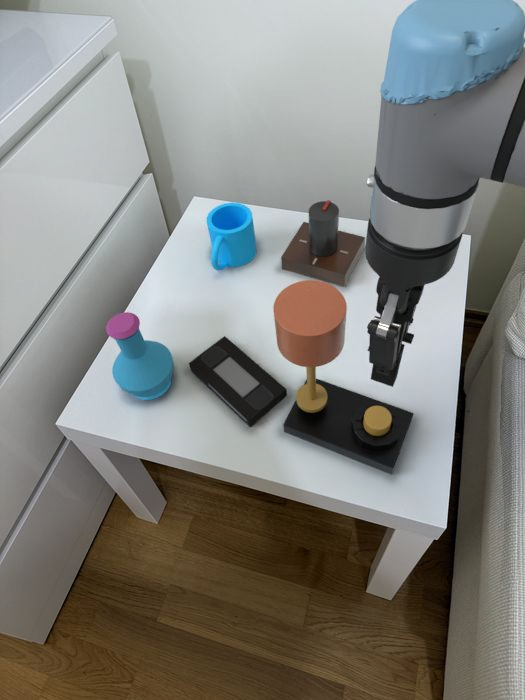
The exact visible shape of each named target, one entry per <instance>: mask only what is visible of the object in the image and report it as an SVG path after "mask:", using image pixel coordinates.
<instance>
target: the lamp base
mask: <svg viewBox="0 0 525 700" xmlns="http://www.w3.org/2000/svg"><path fill="white" fill-rule="evenodd" d="M304 384H307V378H306V379H305V381H304V383H303V385H304ZM316 384H319V385H321V386H322V387H323V388H324V389H325V390H326V392H327V395H328V399H327V404H326V406H325V407H324V408H323V409H322V410H320V411H318V412H314V413H310V412H306V411H303V410H302V409H301V408H300V407H299V406H298V404H297V402H296V400H295V402H294V403H293V405H292V407H291V408H290V411H289V412H288V414H287V416H286V418H285V421H284V423H283V424H282V426H283V427H282V428H283V432H284V433H286V434H289V435H291V436H294V437H296V438H299V439H301V440H303V441H306V442H308V443H311V444H314V445H316V446H319V447H321V448H324V449H326V450H329V451H331V452H333V453H336V454H339V455H340V456H343V457H347V458H348V459H351V460H354V461H356V462H358V463H361V464H363V465H366V466H369V467H371V468H374V469H376V470H378V471H381V472H384V473H387V474H389V475H391V476H392V475H393V474H394V471H395V469H396V468H395V467H396V465H397V462H398V459H399V456H400V454H401V451H402V448H403V445H404V443H405V440H406V437H407V435H408V432H409V429H410V426H411V424H412V421H413V417H414V414H415V413H414V412H412V411H409V410H406V409H403V408H402V407H401V408H400V407H397V406H395V405H392V404H389V403H386V402H384V401H381V400H378V399H375V398H373V397H369V396H367V395H364V394H361V393H359V392H356V391H353V390H349V389H347V388H344V387H341V386H339V385H336V384H333V383H330V382H328V381H325V380H322V379H319V378H316ZM372 406H382V407H384V408H386V409H387V410H388V411H389V412H390V414H391V416H392V422H391V426H390V429H389V431H388V432H387V433H386V434H385V435H382V436H373V435H371V434H369V433H368V432H367V431H366V430H365V429H364V426H363V420H364V414H365V412H366V410H367V409H368V408H370V407H372Z"/></svg>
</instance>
